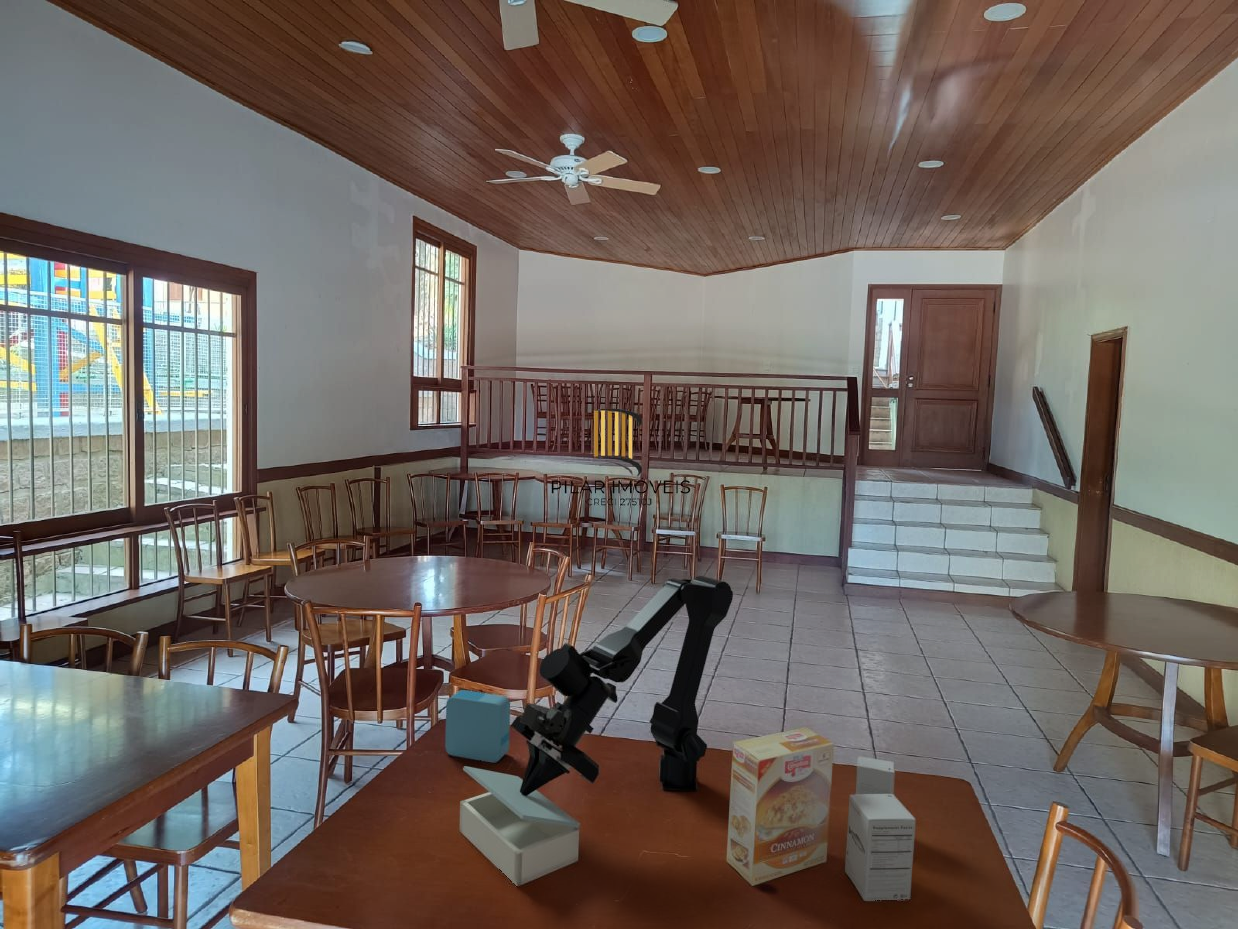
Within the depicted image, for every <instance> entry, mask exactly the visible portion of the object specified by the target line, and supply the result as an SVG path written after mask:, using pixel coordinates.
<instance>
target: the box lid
mask: <svg viewBox="0 0 1238 929" xmlns="http://www.w3.org/2000/svg"><path fill="white" fill-rule="evenodd" d="M462 770H463V771H464V772H465V773H466V774H468V775H469V776H470V777H471V778H472V779H474V780H475V781H476V782H477V783H478V784H480V785H481V787H483V788H484V789H485V790H486V791H488V792H490V793H491V794H493V795H494V796H495V797H496V798H497V799H499V800H500V801H501V802H502V803H503V804H505V805H506V806H507V807H508V808H509V809H510V810H512V811H513V812H514V813H515V814H516V815H518V816H519V817H520V818H521V819H524V820H531V821H538V822H544V823H551V824H557V825H564V826H571V827H576V828H577V829H579V828H580V826H581V823H580V822H579V821H577V820H576V819H575V818H573V817H572V816H571V815H569V814H568V813H567V812H565V811H564V810H563V809H561V807H559V806H557V805H556V804H555V803H554V802H552V801H551V800H550V799H548V798H547V797H546V796H545V795H544V794H542V793H541V792H539V791H538V789H537V790H535V791H533V792H532V793H530V794H529V795H527V796H525V795H523V794H522V793H520V788H521V785H522V782H523V778H521V777H519V776H518V775H512V774H509V773H501V772H498V771H492V770H487V769H484V768H483V769H482V768H477V767H471V766H466V765H464V766H463V768H462Z"/></svg>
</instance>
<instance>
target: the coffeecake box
mask: <svg viewBox="0 0 1238 929" xmlns="http://www.w3.org/2000/svg"><path fill="white" fill-rule="evenodd" d="M834 746H835V744H834V742H832V741H830V740H829V739H827V738H825V737H824V736H822V735H820V734H817V732H815V731H813V730H812V729H809V728H808V727H806V726H804V727H801V728H796V729H791V730H786V731H782V732H781V731H780V732H776V733H771V734H767V735H761V736H758V737H757V736H756V737H751V738H747V739H743V740H737V741H732V756H731V772H730V774H731V776H730V789H729V790H730V792H729V793H730V794H729V809H728V810H729V811H728V826H727V827H728V828H727V843H726V844H727V846H726V847H727V848H726V862H727V864H729V865H730V866H731V867H732V868H733V869H735V870H736V872H738V873H739V875H741V877H742V878H743V879H744V880H746V882H747V883H749V884H750V885H751V886H752V887H753V886H756V885H761V884H763V883H766V882H768V881H772V880H775V879H777V878H780V877H781V878H782V877H783V876H784V877H785V876H786V875H789V874H792V873H795V872H799V871H802V870H805V869H808V868H813V867H815V866H817V865H820V864H824V863H826V862H827V857H828V839H829V824H830V810H831V808H830V807H831V794H832V782H833V781H832V780H833V764H834V763H833V761H834Z"/></svg>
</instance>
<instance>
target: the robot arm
mask: <svg viewBox="0 0 1238 929" xmlns="http://www.w3.org/2000/svg"><path fill="white" fill-rule="evenodd" d="M733 597H734V591H733V590H732V587H731V586H730V584H729V583H728V582H726V581H723V580H720V579H715V578H712V577H709V576H705V575H698V576H696V577H694V578H693V579H689V578H688V579H687V578H676V577H675V578H674V577H673V578H669V579H667V580H665V582H664V584H663V586H662V588H661V589H660V590H659V591H658V592H657V593H656V594H655V595H654V596H653V597H652V598H651V599H650V600H649V602H648V603H647V604H646V605H644V607H642V609H641V610H640V611H638V613H637V614H636V615H635V616H634V617H633V618H632V619H631V620H630V621H629V622H628V624H627V623H626V625H625V626H624V627H623V628H621V629H620V630H617V631H615V632H614V631H613V633H610V634H607V635H606V636H605V637H603V638H602V639H601V640H599V641H598V642H597V643H596V644H594V646H593V647H592V648H590V649H588V650H585V651H582V652H581V653H579V652H578V650H577V649H576V648H575V646H573V645H571V644H569V643H567V642H565V643H564V644H563V645H562V646H561V647H560V648H557V649H553V650H552V651H551V652H550V653H548V654H546V655H545V656H544V658H543V659H542V661H541V662H540V665H539V674H540V676H541V677H542V678H543V679H544V680H545V681H546V682H547V683H548V684H549V685H551V687H553V688H554V689H555V690H556V691H557V692H558V693H559V694H561V695H562V696H563V697H566V698H565V700H564V701H563V703H561V702H559V701H557V702H555V703H553V706H552V707H551V708H549V707H546V706H543V705H539V704H535V703H531V702H526V705H525V707H524V710H523V711H522V712H523V713H522V714H521V715H517V716H516V717H515V719H514V720H513V722H512V723H511V724H510V727H511V728H513V729H514V730H515V731H516V732H518V733H519V734H520V735H522V736H523V737H524V738H525V739H526V741H525V742H526V745H528V751H529V752H528V753H529V755H528V756H529V757H528V761H527V765H526V769H525V772H524V775H523V778H522V780H523V782H522V785H521V788H520V793H522V794H523V795H525V796H527V795H529V794H530V793H532V792H533V791H535V790H537V791H538V789H540V788H541V787H543V786H544V785H546V784H548V783H550V782H551V781H553V780H556V779H557V778H559V777H561V776H563V775H565V774H567V775H570V773H571V771H570V770H569V769H570V767H571V768H573V769H574V770H575V771H576V772H577V773H579V774H580V776H581V777H582V778H583V779H585V780H587V781H588V782H589V783H590V784H594V783H595V781H596V779H597V778H598V776H599V774H600V765H599V764H598V763H597V762H596V761H595V760H594V759H592V758H591V757H590V756H588V754H586V753H585V752H584V751H582V750H581V749H579V748H577V746H578V743H579V742H580V741H581V739H582V737H584V735H585V733H588V734H590V735H591V734H592V732H593V730H594V727H593V726H591V724H592V723H593V721H594V719H595V718H596V716H597V715H598V714H599V712H600V710H601V709H602V707H603V706H604V704H605V703H606V701H607V700H608V701H610V702H612V703H615V704H617V703H618V699H619V698H618V694H617V691H616V690H617V686H616V685H615V684H612V683H610V682H605V681H604V680H610V681H611V682H613V683H624V682H626V681H627V680H629V678H631V676H632V675H633V674H634V672H635V670H636V669H637V667H638V666H639V665H640V663H641V660H642V657H643V653H644V652H643V651H644V649H645V648H646V647H647V646H648V644H649V643H650V642H651V641H652V640H653V639H654V638H655V637H656V636H657V635H658V634H659V633H660V632H661V631H662V630H663V628H664V627H665V626H666V625H667V624H668V623H669V621H671V620H672V619H673V618H674V617H675V615H677V613H678V612H679V611H681V609H682V608H683V607H684V606H685V607H686V612H687V617H688V625H687V628H686V631H685V635H684V639H683V642H682V647H681V650H680V654H679V658H678V660H677V665H676V669H675V673H674V675H673V676H674V677H673V680H672V684H671V688H670V691H669V694H668V696H667V697H666V698H665V699H664V700H663V701H662V702H659V701H656V702H655V704H654V706H653V711H652V716H651V717H650V720H649V723H650V733H651V735H652V737H653V739H654V741H655V745H656V746H657V747H658V748H659V747H660V748H661V749H662V750H663V751H662V754H660V755H659V769H658V770H659V772H658V773H659V774H658V775H659V776H658V777H659V783H661V789H662V790H664V791H679V792H680V791H681V792H683V791H684V792H697V791H698V783H697V782H698V781H697V774H698V773H697V772H698V771H697V770H698V762H699V761H700V760H701V758H704V757H705V755H706V752H707V750H708V749H707V748H708V744H707V743H706V742H705V741H704V740H703V739H702V737H700V735H698V728H699V717H698V711H697V706H696V700H697V696H698V693H699V688H700V685H701V683H702V682H701V681H702V677H703V674H704V670H705V666H706V662H707V658H708V655H709V650H710V647H711V643H712V640H713V636H714V632H715V628H716V627H717V626H718V625H719V624H720V623H721V622H723V620H724V619H725V618H726V617H727V616H728V612H729V609H730V607H731V605H732V602H733ZM592 674H593V676H592ZM594 675H595V676H594ZM603 679H604V680H603ZM560 746H561V747H560Z"/></svg>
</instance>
